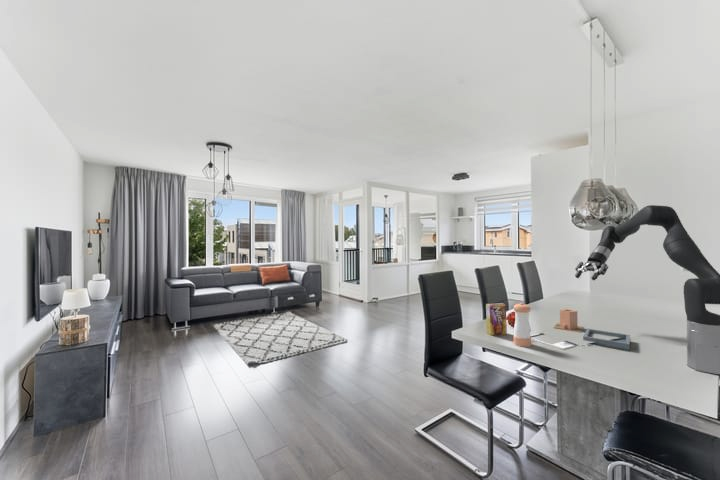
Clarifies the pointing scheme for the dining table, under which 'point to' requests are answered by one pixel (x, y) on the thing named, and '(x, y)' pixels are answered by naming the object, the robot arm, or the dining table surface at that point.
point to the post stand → (569, 329)
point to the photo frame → (559, 345)
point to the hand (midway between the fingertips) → (584, 278)
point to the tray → (617, 343)
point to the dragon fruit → (511, 318)
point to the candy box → (496, 319)
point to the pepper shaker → (522, 325)
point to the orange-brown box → (568, 319)
